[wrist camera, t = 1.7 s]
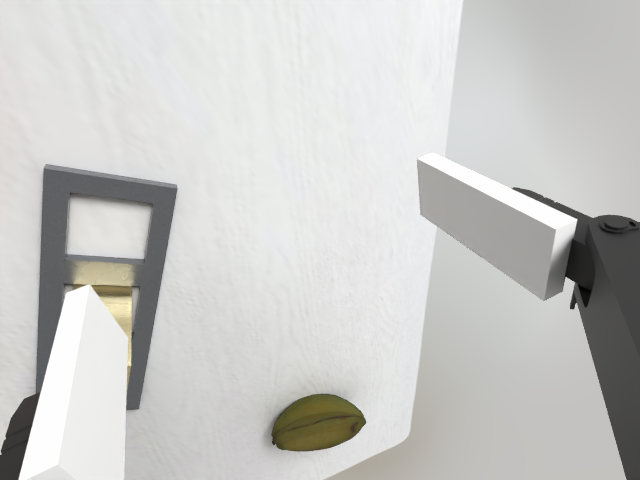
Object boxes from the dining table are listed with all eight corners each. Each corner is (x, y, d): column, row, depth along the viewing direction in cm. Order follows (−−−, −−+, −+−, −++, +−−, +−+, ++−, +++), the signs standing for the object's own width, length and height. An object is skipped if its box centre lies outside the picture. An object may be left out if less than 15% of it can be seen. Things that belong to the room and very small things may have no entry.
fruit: (317, 370, 57) (336, 407, 51) (356, 398, 64) (376, 433, 59) (258, 420, 57) (271, 462, 52) (304, 442, 64) (319, 481, 59)
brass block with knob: (70, 326, 39) (51, 421, 30) (73, 284, 37) (53, 372, 28) (126, 325, 41) (123, 414, 32) (131, 286, 39) (131, 368, 30)
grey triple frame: (36, 411, 42) (34, 419, 41) (46, 164, 31) (43, 168, 30) (138, 402, 46) (138, 408, 46) (176, 184, 36) (177, 188, 35)
